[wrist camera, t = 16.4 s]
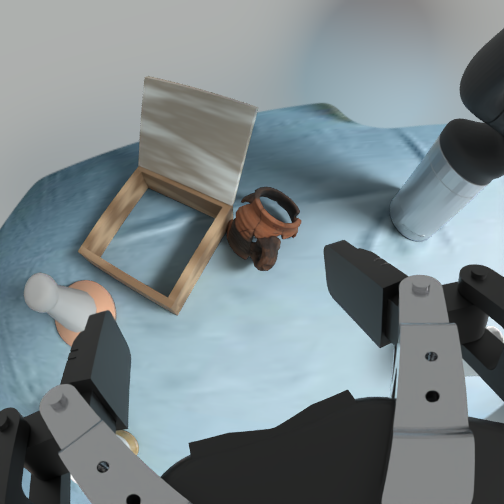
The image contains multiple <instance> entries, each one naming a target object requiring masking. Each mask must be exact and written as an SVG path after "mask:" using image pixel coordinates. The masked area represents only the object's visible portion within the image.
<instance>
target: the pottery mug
mask: <svg viewBox="0 0 504 504" xmlns="http://www.w3.org/2000/svg"><path fill="white" fill-rule="evenodd" d="M260 197H268V198H269V199H271V200H274V201H277V203H278V204H279V205H280V206H281V207H283V208H284V209H285V210H286V211H287V213H288V214H289V216H290V219H291V221H292V223H283V222H281V221H279V220H277V219H276V218H274V217H273V216H271V215H270V214H269V213H268V212H267V211H266V210H265V209H264V207H263V206H262V204H261V201H260V199H259V198H260ZM244 202H249V203H251V204H247V205H244V206H242V207H239V209H238V210H237V212H236V218H234V220H233V219H231V220H230V222H229V225H228V229H227V240H228V243H229V245H230V247H231V248H232V250H233V251H234V252H235V253H236V254H237V255H238V256H240V257H241V258H243V259H245V260H246V259H247V258H248V257H249V256H250V257H251V259H252V260H253V263H254V266H255V267H256V268H257V269H258V270H260V271H268V270H269V269H271V268H272V267H273V266H274V264H275V262H276V260H277V255H278V250H279V248H280V244H281V241H280V239H279V238H277V236H279V235H281V237H282V239H286V238H289V237H291V236H292V238H294V237H295V236H296V234H297V232H298V227H299V226H300V224H301V220H300V219H299V218H296V216H297V215H298V214H299V213H300V210H299V209H298V207H297V205H296V204H295V203H294V202H293V201H292V200H291V199H290V198H289V197H288V196H286V195H285V194H284V193H282V192H281V191H279V190H277V189H274V188H271V187H261V188H259V189H257V190H255V193H252V194H250V195H248V196H246V197H244V198H243V199H242V200H241V203H244ZM253 236H254V237H255V238H256V239H257V241H256V242H252V238H253Z"/></svg>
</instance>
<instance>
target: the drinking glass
mask: <svg viewBox="0 0 504 504" xmlns="http://www.w3.org/2000/svg"><path fill="white" fill-rule="evenodd" d="M486 328H487V329H488V330H489V331H490V332H491V333H492V334H494V335H495V336H496V337H497V338H498V339H499V340H501V341H502V342H503V343H504V337H503V335H502V333H501V332H500V330H499V329H497V328H496V327H494V326H487V327H486ZM462 360H463V359H462ZM463 367H464V376H479V375H478V374H477V373H476V372H475V371H474V370H473V369H472V368H471V367H470V366H469V365H468V364H467V363H466V362H465V361H464V360H463Z"/></svg>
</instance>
